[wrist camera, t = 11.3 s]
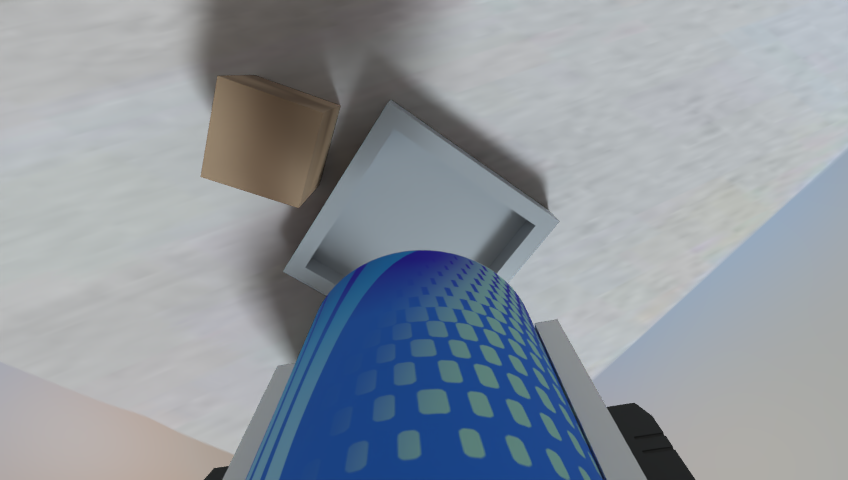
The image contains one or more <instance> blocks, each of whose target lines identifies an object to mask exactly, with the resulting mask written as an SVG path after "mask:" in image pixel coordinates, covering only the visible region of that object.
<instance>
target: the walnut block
mask: <svg viewBox="0 0 848 480" xmlns="http://www.w3.org/2000/svg"><path fill="white" fill-rule="evenodd" d="M339 110H340V105H338V104H335V103H332V102H329V101H326V100H323V99H321V98H318V97H315V96H312V95H309V94H307V93H304V92H301V91H298V90H295V89H292V88H290V87H287V86H284V85H281V84H278V83H276V82H273V81H270V80H267V79H264V78H262V77H259V76H256V75H231V76H217V82H216V88H215V94H214V100H213V106H212V112H211V118H210V124H209V130H208V135H207V141H206V147H205V153H204V159H203V165H202V171H201V177H203V178H206V179H209V180H212V181H215V182H218V183H222V184H225V185H228V186H231V187H234V188H237V189H240V190H244V191H247V192H250V193H253V194H256V195H259V196H262V197H266V198H269V199H272V200H275V201H278V202H281V203H284V204H288V205H291V206H294V207H297V208H299V207H300V206H301V205H302V204H303V203H304V202H305V201H306V200H307V198H308V197H309V196H310V195H311V194H312V193H313V192H314V190H315V189H316V188H317V187H318V186H319V184H320V180H321V177H322V173H323V169H324V166H325V162H326V158H327V154H328V151H329V147H330V143H331V139H332V136H333V132H334V128H335V125H336V121H337V117H338V113H339Z"/></svg>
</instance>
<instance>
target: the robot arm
mask: <svg viewBox="0 0 848 480" xmlns="http://www.w3.org/2000/svg"><path fill="white" fill-rule="evenodd" d="M535 330H536V332H537V335H538V337H539V339H540V341H541V343H542V346H543V348H544V350H545V352H546V354H547V357H548V359H549V361H550V363H551V365H552V368H553V370H554V372H555V374H556V376H557V379H558V381H559V383H560V385H561V388H562V390H563V392H564V394H565V396H566V399H567V401H568V403H569V405H570V407H571V410H572V412H573V414H574V416H575V418H576V421H577V423H578V425H579V427H580V429H581V432H582V434H583V436H584V438H585V440H586V443H587V445H588V447H589V449H590V452H591V454H592V456H593V458H594V460H595V463H596V465H597V467H598V469H599V471H600V474H601V476H602V478H603V480H695V478H694V477H693V476H692V474H691V473H690V471H689V470H688V468H687V467H686V465H685V464H684V462H683V461H682V459H681V458H680V456H679V455H678V453H677V452H676V450H674V449H673V446H672V445H671V443H670V442H669V440H668V439H667V437H666V436H664V434H663V431H662V430H661V428H660V427H659V425H658V424H657V423H656V421H655V420H654V418H653V417H652V416H651V415H650V414H649V413H647V412H646V411H645V410H643V409H642V408H641V407H639V406H638V405H637V404H635V403H630V404H623V405H617V406H610V407H606V405H605V404H604V402H603V400H602V398H601V396H600V395H599V393H598V391H597V389H596V388H595V386H594V384H593V382H592V380H591V379H590V377H589V375H588V373H587V371H586V370H585V368H584V366H583V364H582V363H581V361H580V359H579V357H578V355H577V354H576V352H575V350H574V348H573V346H572V345H571V343H570V341H569V339H568V338H567V336H566V334H565V332H564V330H563V329H562V327H561V325H560V323H559V321H558V320H551V321H545V322H539V323H535ZM294 365H295V363H292V364H286V365H280V366H277V368H276V370H275V372H274V374H273V377H272V379H271V381H270V383H269V385H268V387H267V389H266V391H265V393H264V395H263V397H262V399H261V401H260V403H259V405H258V407H257V409H256V412H255V414H254V416H253V418H252V420H251V422H250V424H249V426H248V428H247V430H246V432H245V434H244V436H243V438H242V440H241V442H240V444H239V446H238V449H237V451H236V453H235V455H234V457H233V459H232V461H231V463H230V465H229V466H226V467H219V468H214V469H213V470H212V471H211V472H210V474H209V475H208V476H207V477H206V478H205V479H204V480H245V479H246V477H247V475H248V472H249V470H250V468H251V465H252V463H253V461H254V458H255V456H256V454H257V451H258V449H259V447H260V444H261V442H262V440H263V437H264V435H265V433H266V430H267V428H268V426H269V423H270V421H271V419H272V417H273V414H274V412H275V410H276V407H277V405H278V403H279V400H280V398H281V396H282V393H283V391H284V389H285V386H286V384H287V382H288V379H289V377H290V375H291V372H292V370H293V368H294Z"/></svg>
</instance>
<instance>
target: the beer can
mask: <svg viewBox="0 0 848 480" xmlns="http://www.w3.org/2000/svg"><path fill="white" fill-rule="evenodd" d="M245 480H603V478H602V476H601V474H600V471H599V469H598V467H597V465H596V463H595V460H594V458H593V456H592V454H591V452H590V449H589V447H588V445H587V443H586V440H585V438H584V436H583V434H582V432H581V429H580V427H579V425H578V423H577V421H576V418H575V416H574V414H573V412H572V410H571V407H570V405H569V403H568V401H567V399H566V396H565V394H564V392H563V390H562V388H561V385H560V383H559V381H558V379H557V376H556V374H555V372H554V370H553V368H552V365H551V363H550V361H549V359H548V357H547V354H546V352H545V350H544V348H543V346H542V343H541V341H540V339H539V337H538V335H537V332H536V330H535V328H534V325H533V323H532V321H531V319H530V317H529V314H528V312H527V310H526V308H525V306H524V304H523V302H522V301H521V299H520V298H519V296H518V295H517V294H516V292H515V291H514V290H513V289H512V287H511V286H510V285H509V284H508V283H507V282H506V281H505V280H504V279H503V278H501V277H500V276H499V275H498V274H496V273H495V272H494V271H492V270H491V269H489V268H487V267H486V266H484V265H482V264H480V263H478V262H476V261H474V260H472V259H469V258H467V257H464V256H461V255H457V254H454V253H449V252H444V251H436V250H410V251H402V252H396V253H392V254H388V255H385V256H382V257H379V258H376V259H374V260H371V261H369V262H367V263H365V264H363V265H361V266H360V267H358V268H356V269H355V270H353V271H352V272H350V273H349V274H348V275H346V276H345V277H344V278H343V279H342V280H341V281H340V282H339V283H337V284H336V285H335V287H334V288H333V289H332V290H331V291H330V292H329V294H328V295H327V296H326V298H325V299H324V301H323V302H322V304H321V306H320V308H319V310H318V312H317V314H316V317H315V319H314V321H313V324H312V326H311V328H310V331H309V333H308V335H307V338H306V340H305V342H304V344H303V347H302V349H301V351H300V354H299V356H298V358H297V361H296V363H295V365H294V368H293V370H292V372H291V375H290V377H289V379H288V382H287V384H286V386H285V389H284V391H283V393H282V396H281V398H280V400H279V403H278V405H277V407H276V410H275V412H274V414H273V417H272V419H271V421H270V423H269V426H268V428H267V430H266V433H265V435H264V437H263V440H262V442H261V444H260V447H259V449H258V451H257V454H256V456H255V458H254V461H253V463H252V465H251V468H250V470H249V472H248V475H247V477H246V479H245Z"/></svg>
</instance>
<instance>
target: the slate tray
mask: <svg viewBox="0 0 848 480" xmlns="http://www.w3.org/2000/svg"><path fill="white" fill-rule="evenodd" d="M559 222H560V221H559V220H558V219H557V218H556V217H555V216H554V215H553V214H552V213H551V212H550V211H549V210H548V209H546V208H545V207H543V206H542V205H540V204H539V203H538V202H536V201H535V200H533V199H532V198H531V197H529V196H528V195H526V194H525V193H523V192H522V191H521V190H519V189H518V188H516V187H515V186H513V185H512V184H511V183H509V182H508V181H506V180H505V179H503V178H502V177H501V176H499V175H498V174H496V173H495V172H493V171H492V170H491V169H489V168H488V167H486V166H485V165H483V164H482V163H481V162H479V161H478V160H476V159H475V158H473V157H472V156H471V155H469V154H468V153H466V152H465V151H464V150H462V149H461V148H459V147H458V146H456V145H455V144H454V143H452V142H451V141H449V140H448V139H446V138H445V137H444V136H442V135H441V134H439V133H438V132H436V131H435V130H434V129H432V128H431V127H429V126H428V125H426V124H425V123H424V122H422V121H421V120H419V119H418V118H416V117H415V116H414V115H412V114H411V113H409V112H408V111H406V110H405V109H404V108H402V107H401V106H399V105H398V104H397V103H395V102H394V101H392V100H390V101H389V102H388V103H387V105H386V106H385V108H384V110H383V111H382V113H381V114H380V116H379V118H378V119H377V121H376V122H375V124H374V126H373V127H372V129H371V130H370V132H369V134H368V135H367V137H366V139H365V140H364V142H363V143H362V145H361V147H360V148H359V150H358V151H357V153H356V155H355V156H354V158H353V159H352V161H351V163H350V164H349V166H348V167H347V169H346V171H345V172H344V174H343V175H342V177H341V179H340V180H339V182H338V184H337V185H336V187H335V188H334V190H333V192H332V193H331V195H330V196H329V198H328V200H327V201H326V203H325V204H324V206H323V208H322V209H321V211H320V212H319V214H318V216H317V217H316V219H315V221H314V222H313V224H312V225H311V227H310V229H309V230H308V232H307V233H306V235H305V237H304V238H303V240H302V241H301V243H300V245H299V246H298V248H297V249H296V251H295V253H294V254H293V256H292V257H291V259H290V261H289V262H288V264H287V266H286V267H285V269H284V270H283V272H285V273H286V274H288V275H290V276H292V277H293V278H295V279H297V280H299V281H300V282H302V283H304V284H306V285H308V286H309V287H311V288H313V289H315V290H316V291H318V292H320V293H322V294H324V295H325V296H327V295H328V294H329V292H330V291H331V290H332V289H333V288H334V287H335V285H336V284H337V283H339V282H340V281H341V280H342V279H343V278H344V277H345V276H346V275H348V274H349V273H350V272H352V271H353V270H355V269H356V268H358V267H360V266H361V265H363V264H365V263H367V262H369V261H371V260H374V259H376V258H379V257H382V256H385V255H388V254H392V253H396V252H402V251H410V250H436V251H444V252H449V253H454V254H457V255H461V256H464V257H467V258H469V259H472V260H474V261H476V262H478V263H480V264H482V265H484V266H486V267H487V268H489V269H491V270H492V271H494V272H495V273H496V274H498V275H499V276H500V277H501V278H503V279H504V280H505V281H506V282H507V283H509V282H510V280H511V279H512V278H513V277H514V276H515V274H516V273H517V272H518V271H519V270H520V268H521V267H522V266H523V265H524V264H525V262H526V261H527V260H528V259H529V258H530V256H531V255H532V254H533V253H534V252H535V250H536V249H537V248H538V247H539V246H540V244H541V243H542V242H543V241H544V240H545V238H546V237H547V236H548V235H549V234H550V232H551V231H552V230H553V229H554V228H555V226H556V225H557V224H558V223H559Z"/></svg>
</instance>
